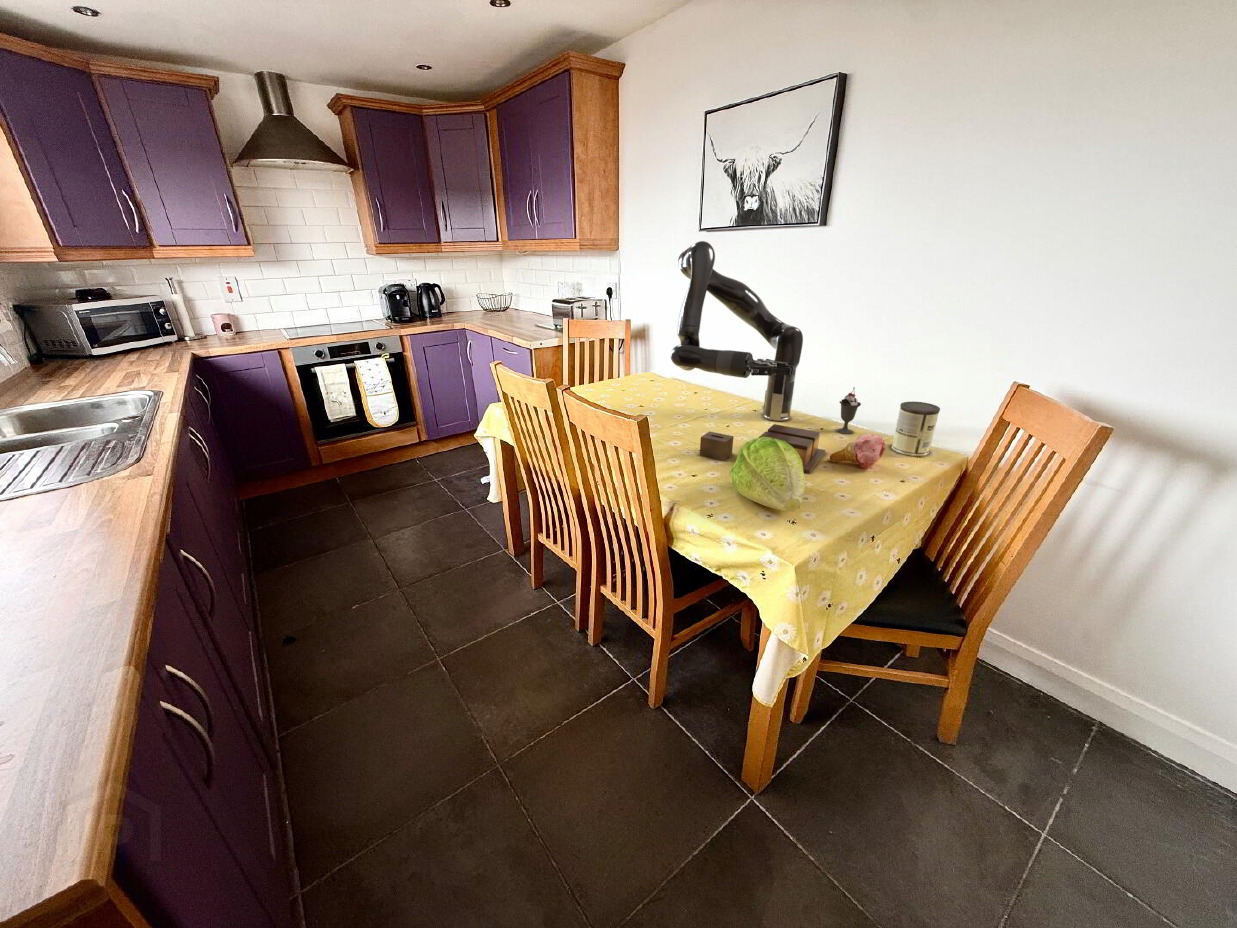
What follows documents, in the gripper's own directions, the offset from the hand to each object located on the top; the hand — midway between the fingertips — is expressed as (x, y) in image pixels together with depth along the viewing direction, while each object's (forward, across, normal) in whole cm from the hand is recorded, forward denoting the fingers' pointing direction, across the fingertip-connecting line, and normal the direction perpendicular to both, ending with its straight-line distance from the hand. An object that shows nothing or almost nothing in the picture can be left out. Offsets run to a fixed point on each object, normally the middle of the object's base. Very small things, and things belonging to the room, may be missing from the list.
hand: (791, 370), depth 141 cm
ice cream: (+21, +4, +26) cm, 33 cm away
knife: (-3, 0, +15) cm, 15 cm away
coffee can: (+32, +26, +26) cm, 49 cm away
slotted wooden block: (+2, 0, +26) cm, 26 cm away
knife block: (-16, -10, +26) cm, 32 cm away
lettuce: (+7, -31, +26) cm, 41 cm away
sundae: (+12, +33, +26) cm, 43 cm away
